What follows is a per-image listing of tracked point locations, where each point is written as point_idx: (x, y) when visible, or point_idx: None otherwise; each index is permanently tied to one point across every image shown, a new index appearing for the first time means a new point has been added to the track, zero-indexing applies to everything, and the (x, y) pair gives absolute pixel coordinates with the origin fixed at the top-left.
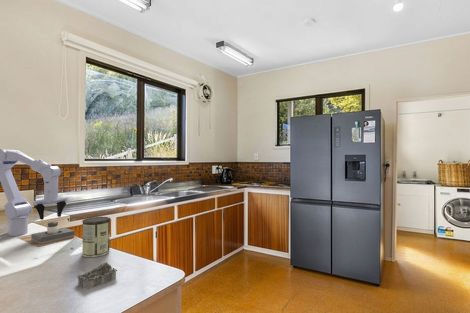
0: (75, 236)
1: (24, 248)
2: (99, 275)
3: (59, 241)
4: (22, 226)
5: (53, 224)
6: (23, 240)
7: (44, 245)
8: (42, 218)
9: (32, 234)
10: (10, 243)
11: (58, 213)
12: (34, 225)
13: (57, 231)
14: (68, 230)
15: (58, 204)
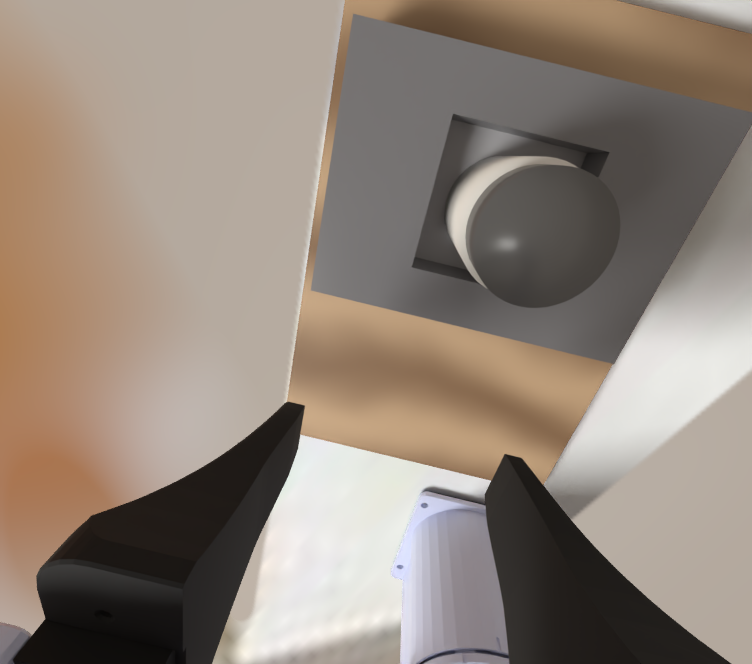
0: (343, 47)
1: (742, 226)
2: None
3: (559, 25)
4: (479, 574)
5: (589, 173)
6: (596, 391)
7: (732, 38)
8: (524, 465)
9: (626, 341)
10: (623, 440)
11: (285, 462)
12: (267, 622)
13: (497, 159)
14: (374, 116)
15: (210, 632)
